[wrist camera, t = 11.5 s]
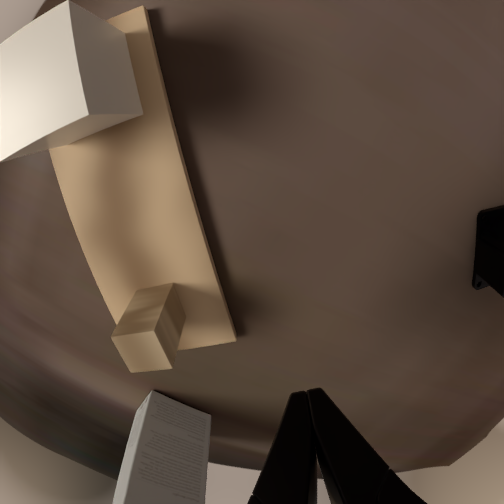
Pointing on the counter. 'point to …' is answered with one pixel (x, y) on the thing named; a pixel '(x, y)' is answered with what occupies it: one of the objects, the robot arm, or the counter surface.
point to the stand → (144, 222)
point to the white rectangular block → (63, 81)
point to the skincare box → (165, 454)
